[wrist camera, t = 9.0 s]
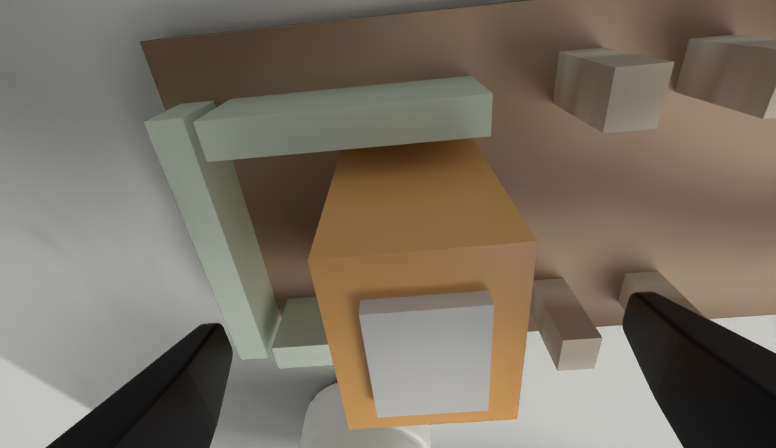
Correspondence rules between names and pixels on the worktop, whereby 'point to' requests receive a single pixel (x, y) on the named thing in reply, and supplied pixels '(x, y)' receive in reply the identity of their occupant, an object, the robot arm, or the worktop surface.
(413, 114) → the bracket
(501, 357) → the orange upright block
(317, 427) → the water bottle
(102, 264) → the worktop surface
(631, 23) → the board
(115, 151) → the worktop surface
